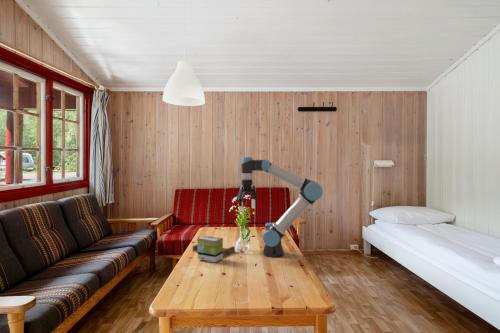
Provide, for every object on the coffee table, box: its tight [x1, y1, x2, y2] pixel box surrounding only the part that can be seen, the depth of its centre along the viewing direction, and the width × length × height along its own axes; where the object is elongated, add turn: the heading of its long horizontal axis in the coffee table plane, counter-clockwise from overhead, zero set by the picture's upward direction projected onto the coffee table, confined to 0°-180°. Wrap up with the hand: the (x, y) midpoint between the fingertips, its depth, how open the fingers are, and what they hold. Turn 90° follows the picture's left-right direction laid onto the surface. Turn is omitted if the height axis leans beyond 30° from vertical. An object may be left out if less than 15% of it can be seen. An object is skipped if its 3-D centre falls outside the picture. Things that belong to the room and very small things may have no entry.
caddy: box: [192, 244, 236, 257], centre depth 236 cm, size 18×27×4 cm, turn 51°
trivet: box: [203, 259, 222, 263], centre depth 217 cm, size 12×12×1 cm
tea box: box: [197, 235, 224, 263], centre depth 216 cm, size 15×10×15 cm
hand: (247, 209), depth 217 cm, fingers open, 13 cm apart
